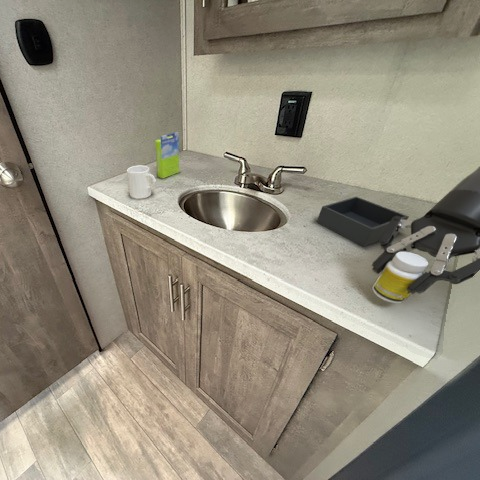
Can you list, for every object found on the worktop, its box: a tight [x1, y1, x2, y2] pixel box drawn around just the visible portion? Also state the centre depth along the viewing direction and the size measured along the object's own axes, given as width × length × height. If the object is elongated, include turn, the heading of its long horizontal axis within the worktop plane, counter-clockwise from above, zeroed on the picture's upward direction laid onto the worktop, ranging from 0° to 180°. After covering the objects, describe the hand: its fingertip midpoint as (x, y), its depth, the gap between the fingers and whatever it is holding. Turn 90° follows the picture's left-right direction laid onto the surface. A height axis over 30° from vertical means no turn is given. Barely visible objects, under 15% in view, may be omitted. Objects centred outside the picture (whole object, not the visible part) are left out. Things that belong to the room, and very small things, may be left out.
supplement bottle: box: [372, 251, 429, 304], centre depth 42 cm, size 5×5×8 cm
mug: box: [126, 164, 157, 200], centre depth 88 cm, size 8×12×10 cm
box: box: [154, 131, 180, 179], centre depth 103 cm, size 10×4×17 cm, turn 132°
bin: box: [316, 196, 410, 248], centre depth 65 cm, size 13×13×5 cm
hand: (392, 280), depth 42 cm, fingers closed on supplement bottle, 4 cm apart
